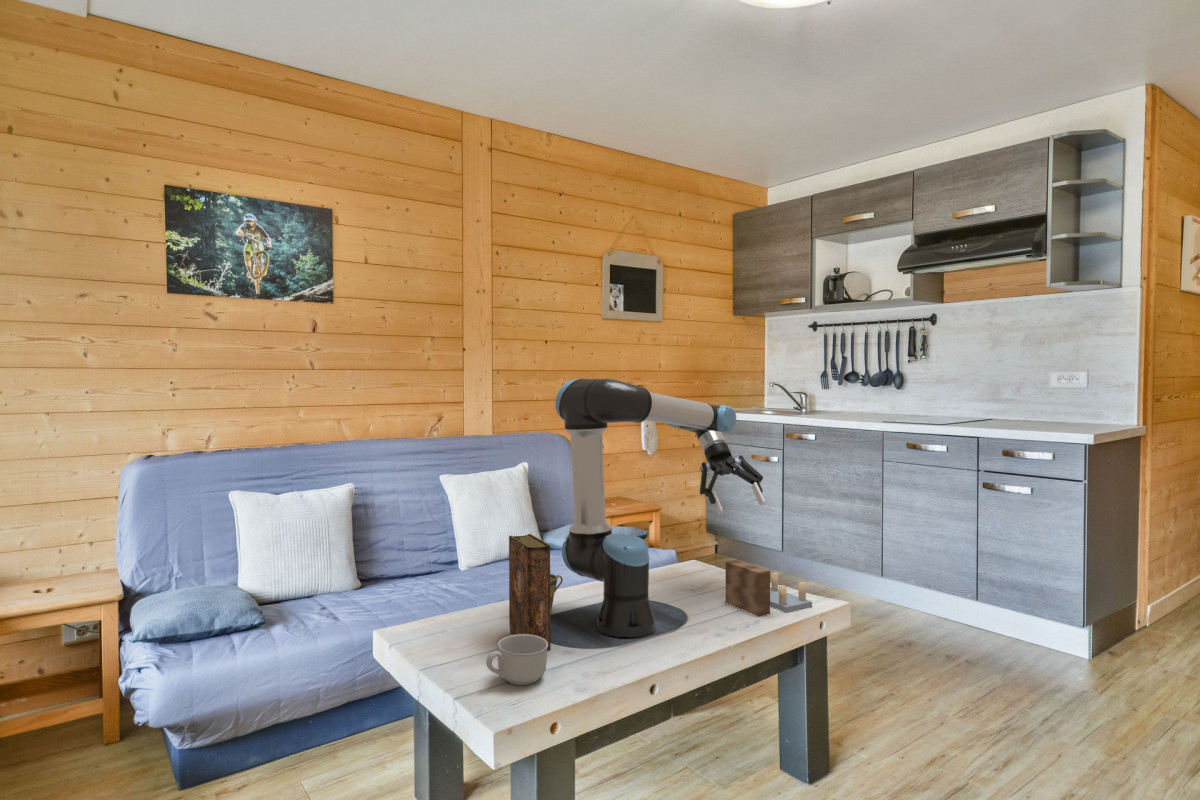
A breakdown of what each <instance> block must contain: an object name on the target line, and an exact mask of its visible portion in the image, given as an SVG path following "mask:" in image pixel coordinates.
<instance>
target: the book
mask: <svg viewBox="0 0 1200 800" xmlns="http://www.w3.org/2000/svg"><path fill="white" fill-rule="evenodd" d="M508 570H509V571H508V584H509V585H508V586H509V587H508V590H509V591H508V594H509V595H508V597H509V599H508V601H509V604H508V605H509V606H508V607H509V610H508V611H509V615H508V616H509V621H508V623H509V633H510V634H511V635H518V634H529V635H535V636H539V637H541V638H544V639H545V640H546V641H547V642H548V648H547V653H548V652H550V651H551V650H552V649H551V641H552V640H551V639H552V637H551V633H552V632H551V614H550V573H551V544H549V543H547V542H546V541H544V540H542V539H540V538H538V537H537V536H535V535H534V534H532V533H528V534H525V535H516V536H515V535H509V536H508Z"/></svg>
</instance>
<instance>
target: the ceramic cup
mask: <svg viewBox="0 0 1200 800" xmlns="http://www.w3.org/2000/svg"><path fill="white" fill-rule="evenodd" d="M559 578H560V582H559V583H558V584H557V582H558V579H559ZM563 581H564V579H563V577H562V575H559V574H555V573H551V572H550V615H551V613H552V611H553V604H554V598H555V597H554V596H555V593H556V592H557V590H558V589H559V588H560V586H561V585H562V583H563Z"/></svg>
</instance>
